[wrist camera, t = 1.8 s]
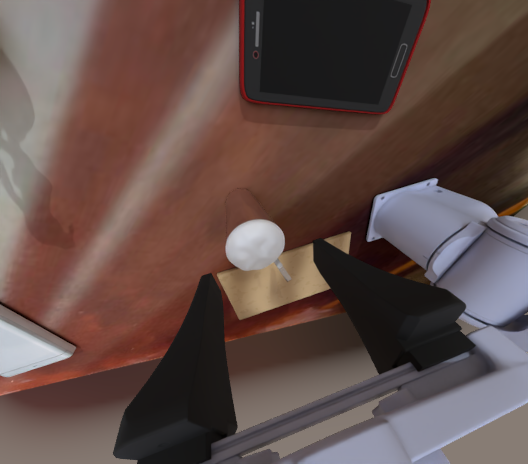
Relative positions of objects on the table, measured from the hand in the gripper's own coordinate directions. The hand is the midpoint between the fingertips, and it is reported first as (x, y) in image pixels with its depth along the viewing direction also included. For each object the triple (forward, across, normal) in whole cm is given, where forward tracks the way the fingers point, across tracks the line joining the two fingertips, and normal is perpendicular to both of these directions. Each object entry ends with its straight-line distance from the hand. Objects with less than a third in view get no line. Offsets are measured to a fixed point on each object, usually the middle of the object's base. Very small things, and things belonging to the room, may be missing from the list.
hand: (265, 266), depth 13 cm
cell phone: (+10, -10, -11) cm, 18 cm away
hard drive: (+10, +32, +8) cm, 35 cm away
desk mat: (+10, -4, +15) cm, 18 cm away
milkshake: (+10, 0, 0) cm, 10 cm away
